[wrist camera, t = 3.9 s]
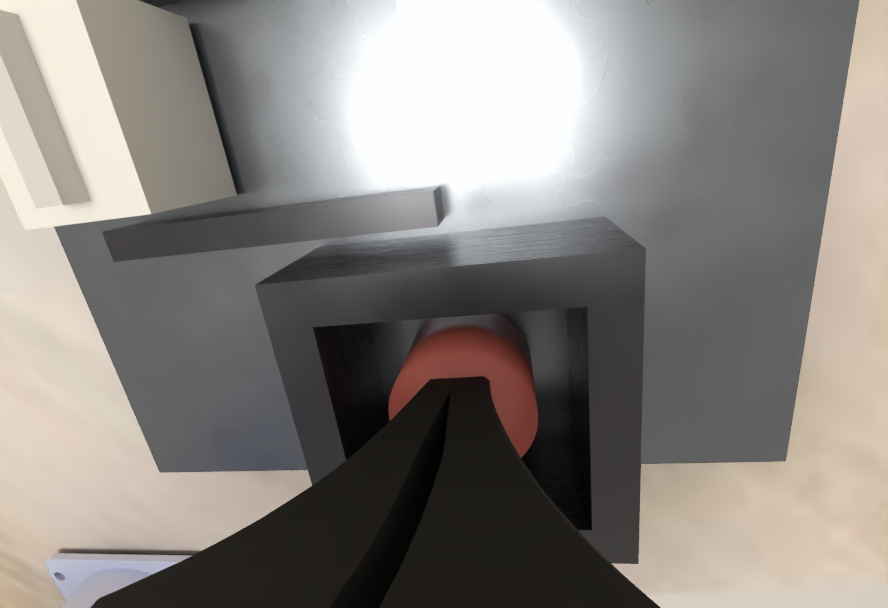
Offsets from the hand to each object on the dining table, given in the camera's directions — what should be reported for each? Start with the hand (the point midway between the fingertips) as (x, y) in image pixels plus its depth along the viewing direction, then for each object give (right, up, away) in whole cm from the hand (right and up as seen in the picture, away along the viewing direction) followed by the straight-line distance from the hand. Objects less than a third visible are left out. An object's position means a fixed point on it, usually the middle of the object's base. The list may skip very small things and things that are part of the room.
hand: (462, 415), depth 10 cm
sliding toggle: (-8, +7, +1) cm, 10 cm away
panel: (-2, +5, +3) cm, 6 cm away
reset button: (0, +1, +2) cm, 3 cm away
